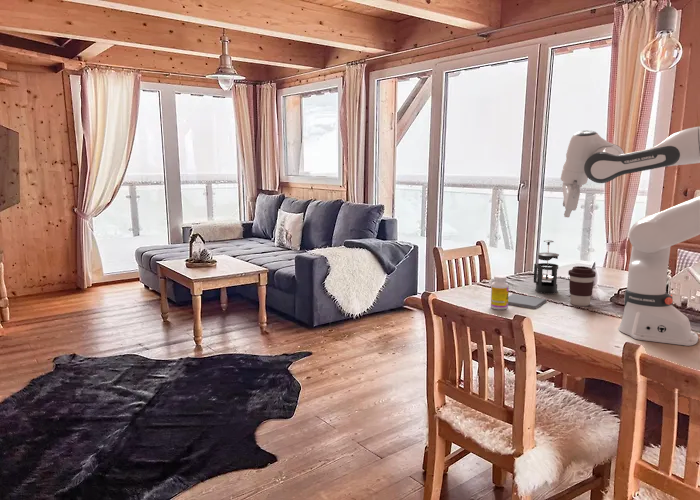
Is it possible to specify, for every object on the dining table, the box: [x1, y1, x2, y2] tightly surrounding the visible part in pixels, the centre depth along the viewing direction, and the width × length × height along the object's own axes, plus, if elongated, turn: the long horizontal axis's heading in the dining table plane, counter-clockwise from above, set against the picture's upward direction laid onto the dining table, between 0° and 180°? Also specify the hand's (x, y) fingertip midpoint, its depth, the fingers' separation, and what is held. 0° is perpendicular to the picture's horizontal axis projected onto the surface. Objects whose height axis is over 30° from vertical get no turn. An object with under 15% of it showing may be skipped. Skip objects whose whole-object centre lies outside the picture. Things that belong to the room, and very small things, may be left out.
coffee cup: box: [567, 265, 597, 307], centre depth 201 cm, size 10×10×15 cm
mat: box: [508, 293, 547, 310], centre depth 206 cm, size 14×13×1 cm
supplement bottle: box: [490, 274, 510, 311], centre depth 198 cm, size 7×7×13 cm
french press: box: [533, 239, 560, 295], centre depth 221 cm, size 12×9×23 cm
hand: (565, 211), depth 185 cm, fingers open, 8 cm apart
